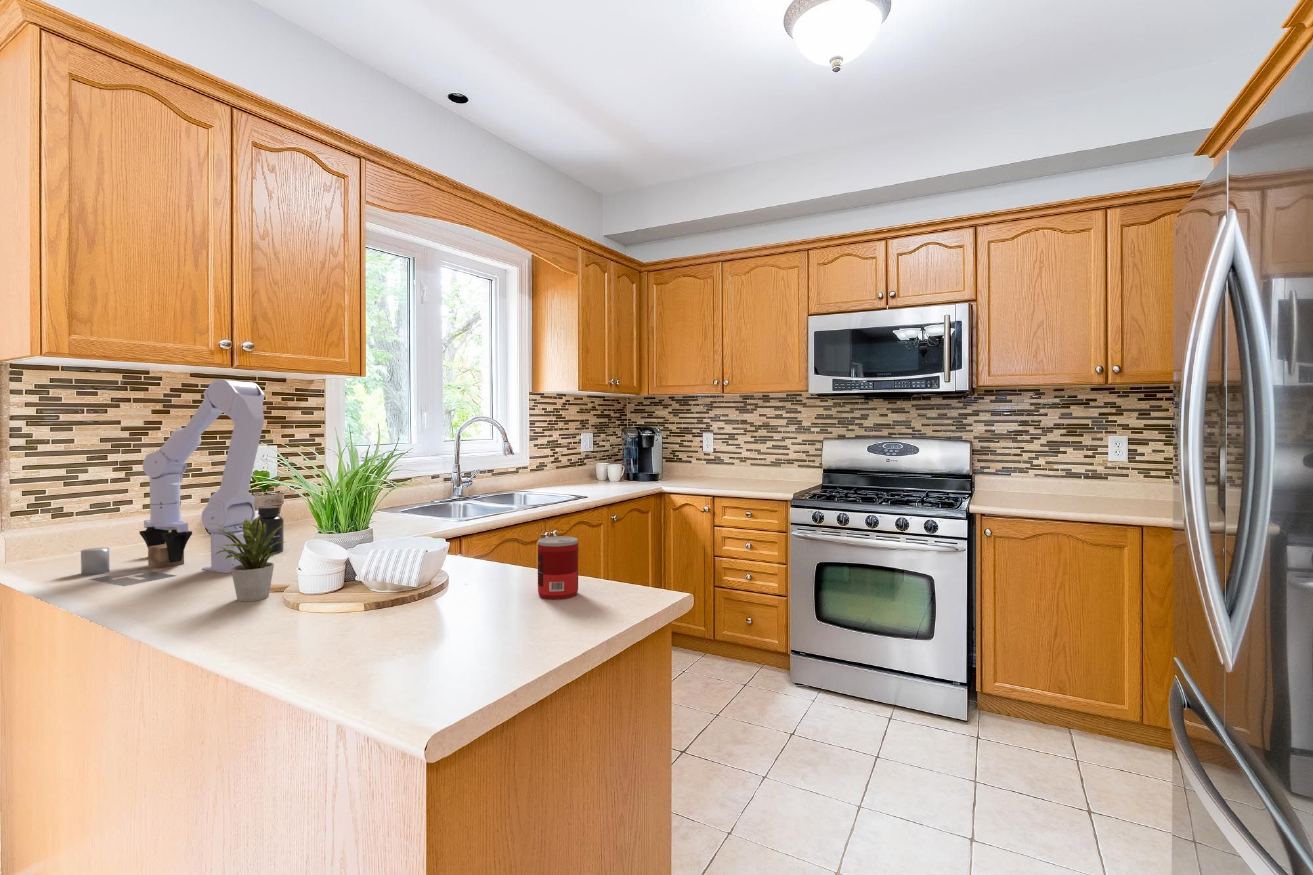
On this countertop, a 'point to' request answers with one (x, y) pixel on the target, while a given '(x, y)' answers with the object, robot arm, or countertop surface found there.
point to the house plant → (251, 562)
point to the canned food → (557, 567)
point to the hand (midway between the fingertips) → (166, 560)
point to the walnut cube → (161, 557)
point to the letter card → (132, 577)
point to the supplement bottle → (272, 527)
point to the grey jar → (94, 561)
